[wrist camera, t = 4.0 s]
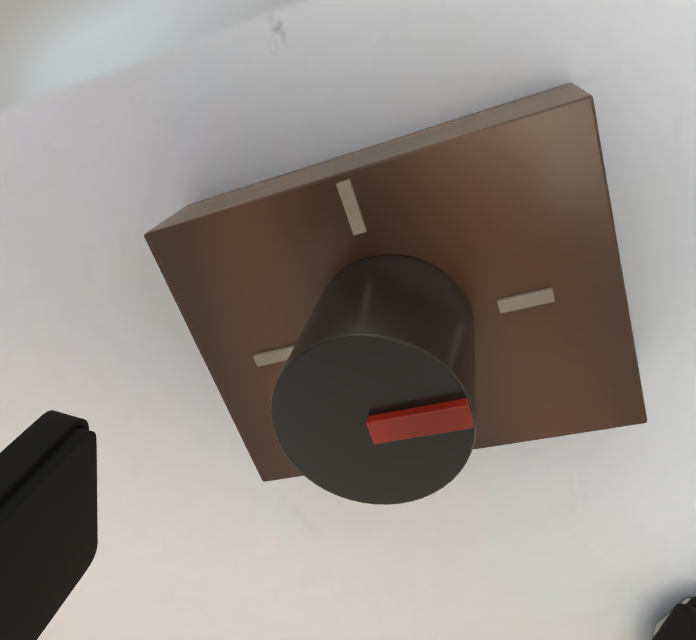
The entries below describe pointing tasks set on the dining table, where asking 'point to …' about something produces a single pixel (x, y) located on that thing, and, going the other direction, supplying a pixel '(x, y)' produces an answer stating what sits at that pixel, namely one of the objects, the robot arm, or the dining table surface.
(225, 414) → the dining table surface
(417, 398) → the knob
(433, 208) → the panel
